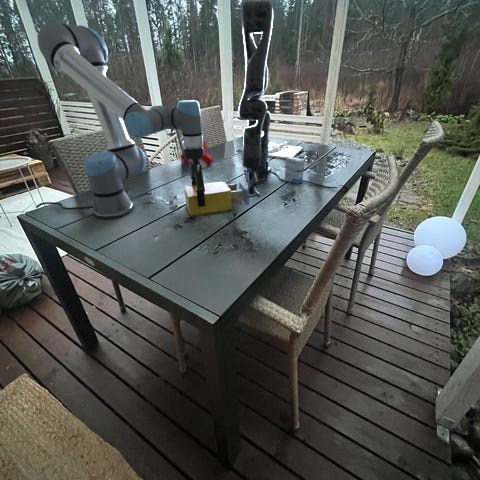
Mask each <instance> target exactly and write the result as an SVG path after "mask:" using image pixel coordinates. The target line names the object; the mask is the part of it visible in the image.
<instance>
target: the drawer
mask: <svg viewBox="0 0 480 480" xmlns="http://www.w3.org/2000/svg"><path fill="white" fill-rule="evenodd" d="M226 185H227V186H228V187H229V189H230V190H231V200H232V207H233V206H238V205H239V206H240V205H243V203H244V204H245V205H246V206H250V199H251V198H256V197H257V198H261V193H260V192H259V191H257V190H256V188H254V194H253V195H249V189H248V186H247V185H246V184H245V183H244V182H243V181H242V180H241V181H238V184H237V183H231V184H226ZM237 185H238V186H237Z"/></svg>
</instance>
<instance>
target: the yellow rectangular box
mask: <svg viewBox="0 0 480 480" xmlns="http://www.w3.org/2000/svg"><path fill="white" fill-rule="evenodd" d="M227 185H228V184H227V183H226V182H225V181H224V180H222V181H215V182H208V183H204V188H205V192H204V197H205V206H203V207H198V199H197V192H195V191H196V190H197V186H196V185H193V186H192V185H187V186H183V191H184V198H185V204H186V208H187V211H188V213H189V216H190V218H197V217H203V216H208V215H209V216H210V215H214V214H221V213H226V212H232V211H233V206H232V200H231V190H230V189H229V187H228V186H227ZM200 189H201V188H200Z"/></svg>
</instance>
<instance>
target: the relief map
mask: <svg viewBox="0 0 480 480" xmlns="http://www.w3.org/2000/svg"><path fill="white" fill-rule="evenodd" d="M302 147H303V146H294V145H292V144H290V143H289V142H288V141H284V142H282V143H280V144H279V143H278V142H276V141H273V140H272V139H271V138H269V145H268V157H271V158H277V159H285V160H286V159H287V158H289V157H296V156H297V155H298V154H299V153H300V152H302V151H303V150H304V148H303V149H302ZM296 153H297V154H296Z"/></svg>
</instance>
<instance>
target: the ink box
mask: <svg viewBox="0 0 480 480" xmlns="http://www.w3.org/2000/svg"><path fill="white" fill-rule="evenodd" d="M305 162H306V159H304V158H299V157H296V156H294V157H289V158H287V159H286V158H285V169H284V180H285V181H284V182H289V183H293V184H295V185H298V184H300V183H302V182H304V181H303V180H304V173H305V171H304V170H305Z"/></svg>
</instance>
